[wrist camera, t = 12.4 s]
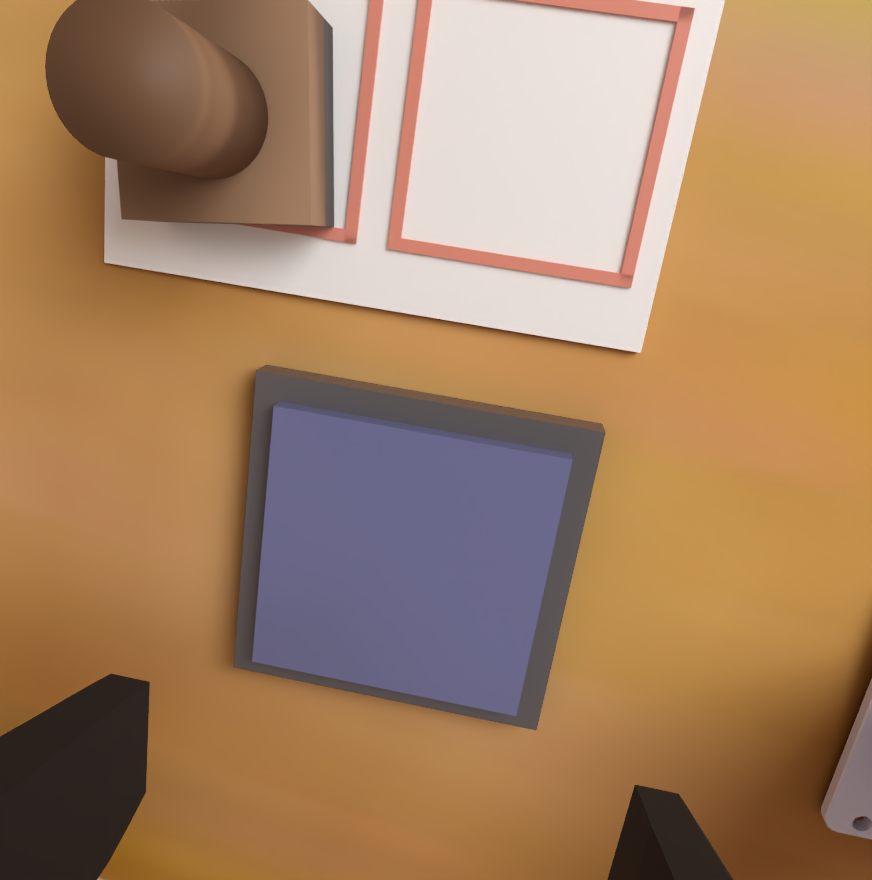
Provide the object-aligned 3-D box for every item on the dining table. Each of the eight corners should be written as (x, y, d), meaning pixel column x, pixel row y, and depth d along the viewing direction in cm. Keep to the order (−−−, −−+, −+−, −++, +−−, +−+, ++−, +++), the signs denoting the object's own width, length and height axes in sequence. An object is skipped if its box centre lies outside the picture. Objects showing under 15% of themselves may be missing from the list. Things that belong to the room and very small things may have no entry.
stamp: (332, 27, 16) (240, -78, 11) (334, 227, 18) (251, 218, 12) (151, 28, 17) (-22, -73, 12) (164, 221, 18) (13, 211, 13)
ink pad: (602, 423, 19) (607, 437, 17) (536, 712, 21) (536, 742, 20) (266, 364, 19) (248, 374, 18) (243, 651, 22) (226, 677, 21)
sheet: (738, -64, 15) (742, -69, 15) (639, 351, 18) (641, 353, 18) (112, -142, 16) (105, -149, 16) (108, 262, 19) (101, 262, 19)
